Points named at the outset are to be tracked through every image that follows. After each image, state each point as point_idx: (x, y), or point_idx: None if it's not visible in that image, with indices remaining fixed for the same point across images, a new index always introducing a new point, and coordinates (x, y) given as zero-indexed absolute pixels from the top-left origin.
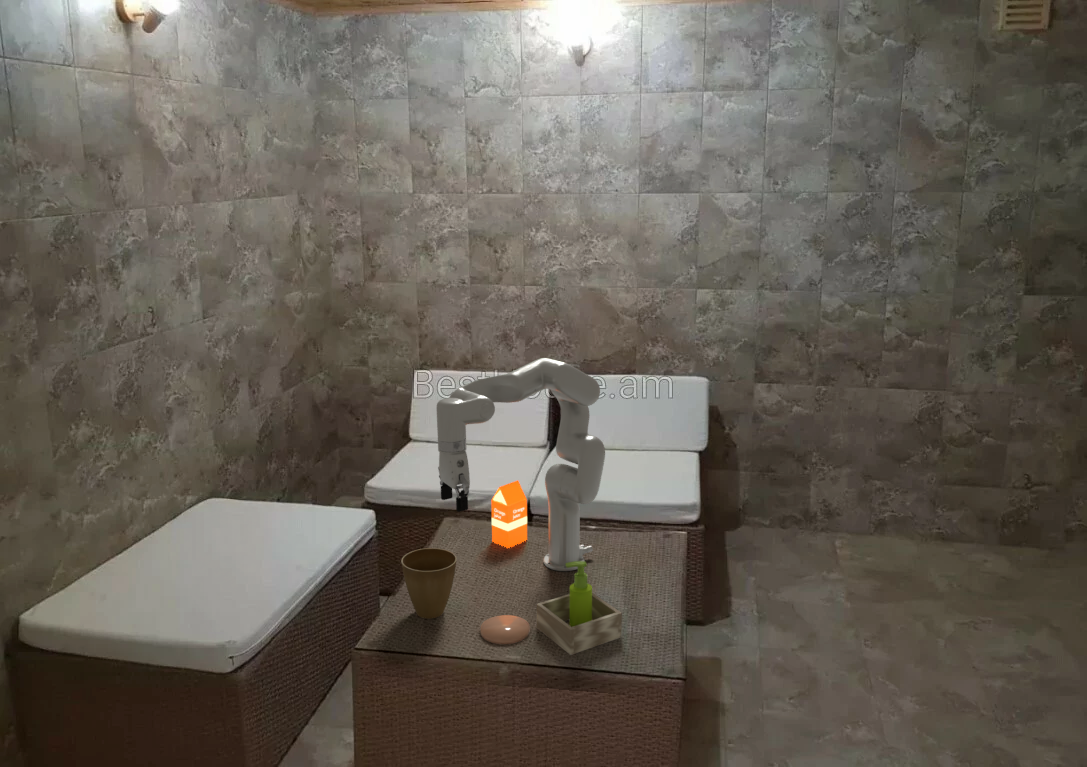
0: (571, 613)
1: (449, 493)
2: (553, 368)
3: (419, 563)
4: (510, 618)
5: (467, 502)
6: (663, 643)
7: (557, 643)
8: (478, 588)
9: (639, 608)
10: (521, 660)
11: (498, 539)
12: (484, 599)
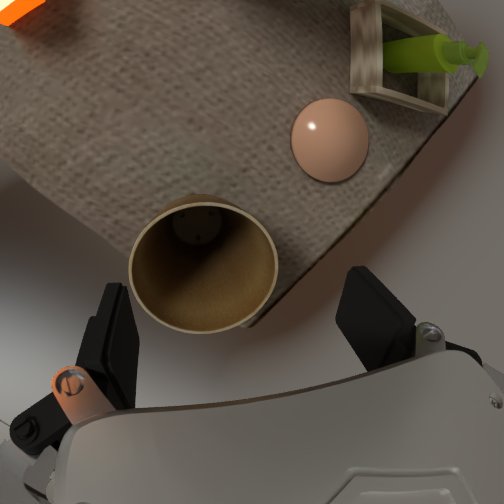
0: (416, 71)
1: (125, 327)
2: None
3: (142, 262)
4: (315, 115)
5: (387, 291)
6: (444, 22)
7: (398, 104)
8: (154, 99)
9: None
10: (396, 168)
11: (16, 13)
12: (205, 108)
